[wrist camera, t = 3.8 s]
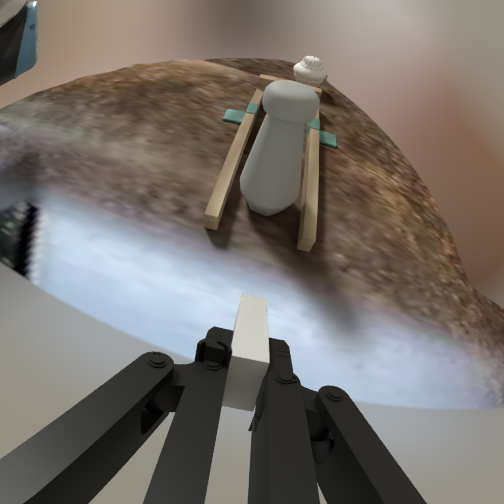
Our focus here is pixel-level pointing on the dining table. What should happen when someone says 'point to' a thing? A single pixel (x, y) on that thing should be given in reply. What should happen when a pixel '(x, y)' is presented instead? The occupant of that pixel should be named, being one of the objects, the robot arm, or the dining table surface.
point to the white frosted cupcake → (309, 71)
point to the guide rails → (234, 156)
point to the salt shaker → (278, 147)
